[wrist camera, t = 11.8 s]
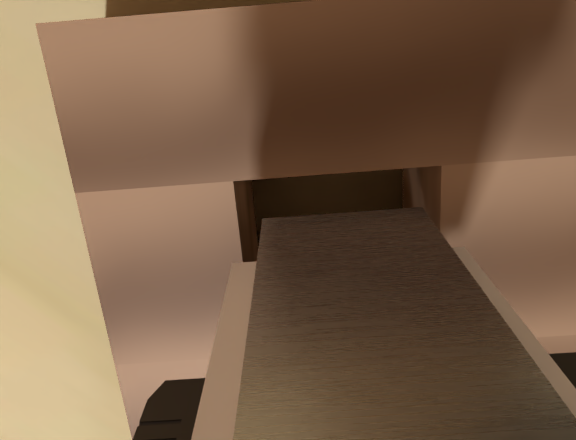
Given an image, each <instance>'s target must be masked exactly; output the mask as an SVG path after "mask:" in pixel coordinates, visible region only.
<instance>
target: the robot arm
mask: <svg viewBox="0 0 576 440" xmlns="http://www.w3.org/2000/svg"><path fill="white" fill-rule="evenodd" d="M452 249H453V250H454V251H455V253H456V254H457V255H458V257H459V258H460V260H461V261H462V262H463V264H464V265H465V266H466V268H467V269H468V271H469V272H470V273H471V275H472V276H473V278H474V279H475V280H476V282H477V283H478V284H479V286H480V287H481V289H482V290H483V291H484V293H485V294H486V295H487V297H488V298H489V300H490V301H491V302H492V304H493V305H494V306H495V308H496V309H497V311H498V312H499V313H500V315H501V316H502V317H503V319H504V320H505V322H506V323H507V324H508V326H509V327H510V328H511V330H512V331H513V333H514V334H515V335H516V337H517V338H518V339H519V341H520V342H521V344H522V345H523V346H524V348H525V349H526V350H527V352H528V353H529V355H530V356H531V357H532V359H533V360H534V361H535V363H536V364H537V366H538V367H539V368H540V370H541V371H542V372H543V374H544V375H545V377H546V378H547V379H548V381H549V382H550V383H551V385H552V386H553V388H554V389H555V390H556V392H557V393H558V394H559V396H560V397H561V399H562V400H563V401H564V403H565V404H566V405H567V407H568V408H569V410H570V411H571V412H572V414H573V415H574V416H575V418H576V352H570V353H554V354H548V353H547V351H546V350H545V349H544V348H543V346H542V345H541V344H540V342H539V341H538V340H537V339H536V337H535V336H534V335H533V333H532V332H531V331H530V330H529V328H528V327H527V326H526V325H525V323H524V322H523V321H522V319H521V318H520V317H519V316H518V314H517V313H516V312H515V311H514V309H513V308H512V307H511V305H510V304H509V303H508V302H507V300H506V299H505V298H504V297H503V295H502V294H501V293H500V291H499V290H498V289H497V288H496V286H495V285H494V284H493V282H492V281H491V280H490V279H489V277H488V276H487V275H486V274H485V272H484V271H483V270H482V268H481V267H480V266H479V265H478V263H477V262H476V261H475V260H474V258H473V257H472V256H471V254H470V253H469V252H468V251H467V249H466V248H465V247H453V248H452ZM256 263H257V261H255V262H240V263H232V266H231V270H230V275H229V279H228V283H227V288H226V292H225V296H224V300H223V305H222V309H221V313H220V318H219V322H218V326H217V330H216V335H215V339H214V343H213V348H212V352H211V356H210V361H209V365H208V369H207V373H206V378H195V379H179V380H165V381H164V382H163V383H162V384H161V386H160V387H159V388H158V389H157V390H156V391H155V392H154V393H153V394H152V395H151V396H150V397H149V399H148V400H147V402H146V405H145V407H144V410H143V413H142V415H141V418H140V421H139V426H137V429H136V432H135V434H134V437H133V440H233V436H234V428H235V421H236V413H237V406H238V398H239V391H240V383H241V376H242V368H243V361H244V353H245V346H246V338H247V331H248V323H249V316H250V308H251V301H252V293H253V285H254V278H255V270H256Z"/></svg>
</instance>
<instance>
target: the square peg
mask: <svg viewBox="0 0 576 440" xmlns="http://www.w3.org/2000/svg"><path fill="white" fill-rule="evenodd" d="M233 440H576V418H575V416H574V415H573V414H572V412H571V411H570V410H569V408H568V407H567V405H566V404H565V403H564V401H563V400H562V399H561V397H560V396H559V394H558V393H557V392H556V390H555V389H554V388H553V386H552V385H551V383H550V382H549V381H548V379H547V378H546V377H545V375H544V374H543V372H542V371H541V370H540V368H539V367H538V366H537V364H536V363H535V361H534V360H533V359H532V357H531V356H530V355H529V353H528V352H527V350H526V349H525V348H524V346H523V345H522V344H521V342H520V341H519V339H518V338H517V337H516V335H515V334H514V333H513V331H512V330H511V328H510V327H509V326H508V324H507V323H506V322H505V320H504V319H503V317H502V316H501V315H500V313H499V312H498V311H497V309H496V308H495V306H494V305H493V304H492V302H491V301H490V300H489V298H488V297H487V295H486V294H485V293H484V291H483V290H482V289H481V287H480V286H479V284H478V283H477V282H476V280H475V279H474V278H473V276H472V275H471V273H470V272H469V271H468V269H467V268H466V266H465V265H464V264H463V262H462V261H461V260H460V258H459V257H458V255H457V254H456V253H455V251H454V250H453V249H452V247H451V246H450V244H449V243H448V242H447V240H446V239H445V238H444V236H443V235H442V233H441V232H440V231H439V229H438V228H437V227H436V225H435V224H434V222H433V221H432V220H431V218H430V217H429V216H428V214H427V213H426V211H425V210H424V209H423V207H415V208H401V209H388V210H374V211H360V212H346V213H332V214H319V215H305V216H291V217H277V218H264V219H262V225H261V233H260V240H259V248H258V255H257V263H256V270H255V278H254V285H253V293H252V301H251V308H250V316H249V323H248V331H247V338H246V346H245V353H244V361H243V368H242V376H241V383H240V391H239V398H238V406H237V413H236V421H235V428H234V436H233Z"/></svg>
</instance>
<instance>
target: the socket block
mask: <svg viewBox="0 0 576 440" xmlns="http://www.w3.org/2000/svg"><path fill="white" fill-rule="evenodd" d="M36 28H37V32H38V36H39V41H40V45H41V49H42V54H43V58H44V62H45V67H46V71H47V75H48V79H49V84H50V88H51V92H52V97H53V101H54V105H55V110H56V114H57V118H58V122H59V127H60V131H61V135H62V140H63V144H64V148H65V152H66V157H67V161H68V165H69V170H70V174H71V178H72V183H73V187H74V191H75V195H76V200H77V204H78V208H79V213H80V217H81V221H82V225H83V230H84V234H85V238H86V243H87V247H88V251H89V256H90V260H91V264H92V268H93V273H94V277H95V281H96V286H97V290H98V294H99V299H100V303H101V307H102V311H103V316H104V320H105V324H106V329H107V333H108V337H109V341H110V346H111V350H112V354H113V359H114V363H115V367H116V372H117V376H118V380H119V384H120V389H121V393H122V397H123V402H124V406H125V410H126V415H127V419H128V423H129V427H130V432H131V436H132V440H133V437H134V434H135V432H136V429H137V426H139V421H140V418H141V415H142V413H143V410H144V407H145V405H146V402H147V400H148V399H149V397H150V396H151V395H152V394H153V393H154V392H155V391H156V390H157V389H158V388H159V387H160V386H161V384H162V383H163V382H164V381H165V380H179V379H195V378H206V373H207V369H208V365H209V361H210V356H211V352H212V348H213V343H214V339H215V335H216V330H217V326H218V322H219V318H220V313H221V309H222V305H223V300H224V296H225V292H226V288H227V283H228V279H229V275H230V270H231V266H232V263H240V262H255V261H257V255H258V239H257V230H256V220H255V211H254V202H253V192H252V183H251V180H256V179H270V178H283V177H296V176H310V175H323V174H337V173H350V172H363V171H377V170H390V169H403V208H415V207H423V209H424V210H425V211H426V213H427V214H428V216H429V217H430V218H431V220H432V221H433V222H434V224H435V225H436V227H437V228H438V229H439V231H440V232H441V233H442V235H443V236H444V238H445V239H446V240H447V242H448V243H449V244H450V246H451V247H452V248H453V247H465V248H466V249H467V251H468V252H469V253H470V254H471V256H472V257H473V258H474V260H475V261H476V262H477V263H478V265H479V266H480V267H481V268H482V270H483V271H484V272H485V274H486V275H487V276H488V277H489V279H490V280H491V281H492V282H493V284H494V285H495V286H496V288H497V289H498V290H499V291H500V293H501V294H502V295H503V297H504V298H505V299H506V300H507V302H508V303H509V304H510V305H511V307H512V308H513V309H514V311H515V312H516V313H517V314H518V316H519V317H520V318H521V319H522V321H523V322H524V323H525V325H526V326H527V327H528V328H529V330H530V331H531V332H532V333H533V335H534V336H535V337H536V339H537V340H538V341H539V342H540V344H541V345H542V346H543V348H544V349H545V350H546V351H547V353H548V354H554V353H570V352H576V0H310V1H298V2H286V3H275V4H263V5H251V6H239V7H227V8H215V9H203V10H191V11H180V12H168V13H156V14H144V15H132V16H120V17H108V18H96V19H85V20H73V21H61V22H49V23H37V24H36Z"/></svg>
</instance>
